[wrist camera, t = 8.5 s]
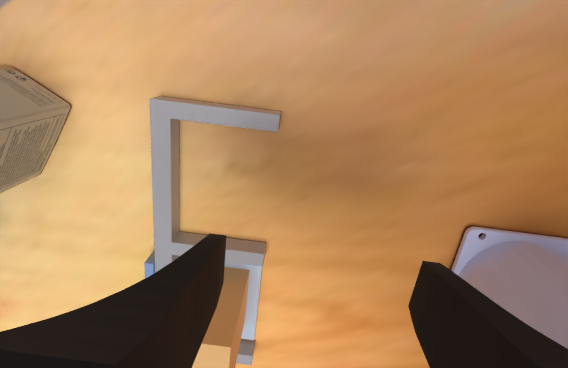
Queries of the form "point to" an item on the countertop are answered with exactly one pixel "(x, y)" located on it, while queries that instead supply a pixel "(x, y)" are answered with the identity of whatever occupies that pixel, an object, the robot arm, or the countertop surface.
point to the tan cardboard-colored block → (225, 323)
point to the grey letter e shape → (167, 195)
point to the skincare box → (26, 126)
